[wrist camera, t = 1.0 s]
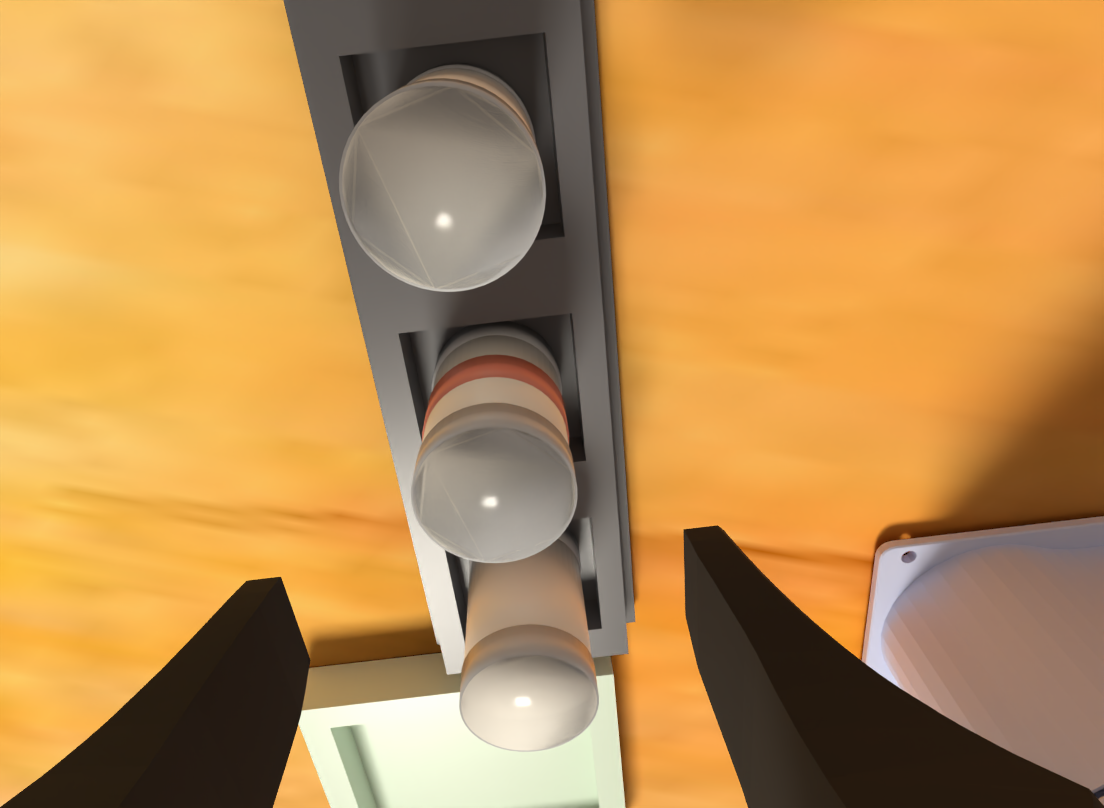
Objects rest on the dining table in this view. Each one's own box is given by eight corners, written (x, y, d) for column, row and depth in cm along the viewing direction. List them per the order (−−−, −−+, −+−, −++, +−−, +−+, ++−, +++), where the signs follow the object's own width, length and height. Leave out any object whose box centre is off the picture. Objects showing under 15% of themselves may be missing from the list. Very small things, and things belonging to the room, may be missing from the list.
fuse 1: (525, 54, 17) (533, 70, 12) (541, 207, 19) (555, 280, 14) (374, 72, 17) (315, 95, 12) (403, 223, 19) (364, 302, 14)
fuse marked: (553, 312, 20) (569, 415, 15) (565, 425, 22) (584, 553, 17) (424, 327, 20) (395, 435, 15) (446, 438, 22) (426, 571, 17)
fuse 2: (574, 504, 24) (593, 645, 18) (583, 590, 25) (603, 743, 20) (461, 517, 24) (447, 662, 18) (477, 602, 25) (470, 759, 20)
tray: (606, 633, 27) (613, 674, 25) (623, 819, 32) (630, 864, 30) (307, 668, 27) (293, 711, 25) (371, 849, 32) (364, 895, 30)
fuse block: (588, -35, 17) (598, -42, 15) (632, 609, 26) (641, 652, 25) (290, -1, 17) (265, -3, 15) (438, 632, 26) (433, 676, 25)
